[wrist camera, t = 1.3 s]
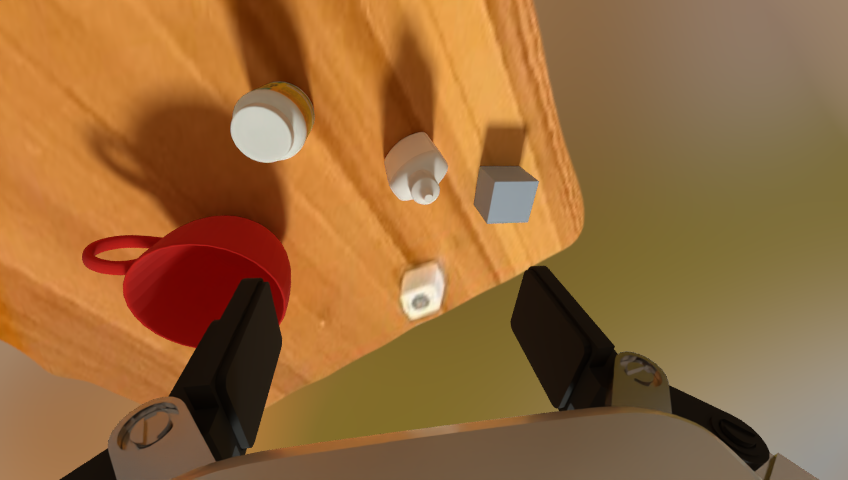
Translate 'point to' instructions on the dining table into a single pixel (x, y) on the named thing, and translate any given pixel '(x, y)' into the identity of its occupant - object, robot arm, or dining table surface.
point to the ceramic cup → (194, 273)
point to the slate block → (504, 194)
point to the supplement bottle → (272, 122)
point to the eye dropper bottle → (415, 169)
